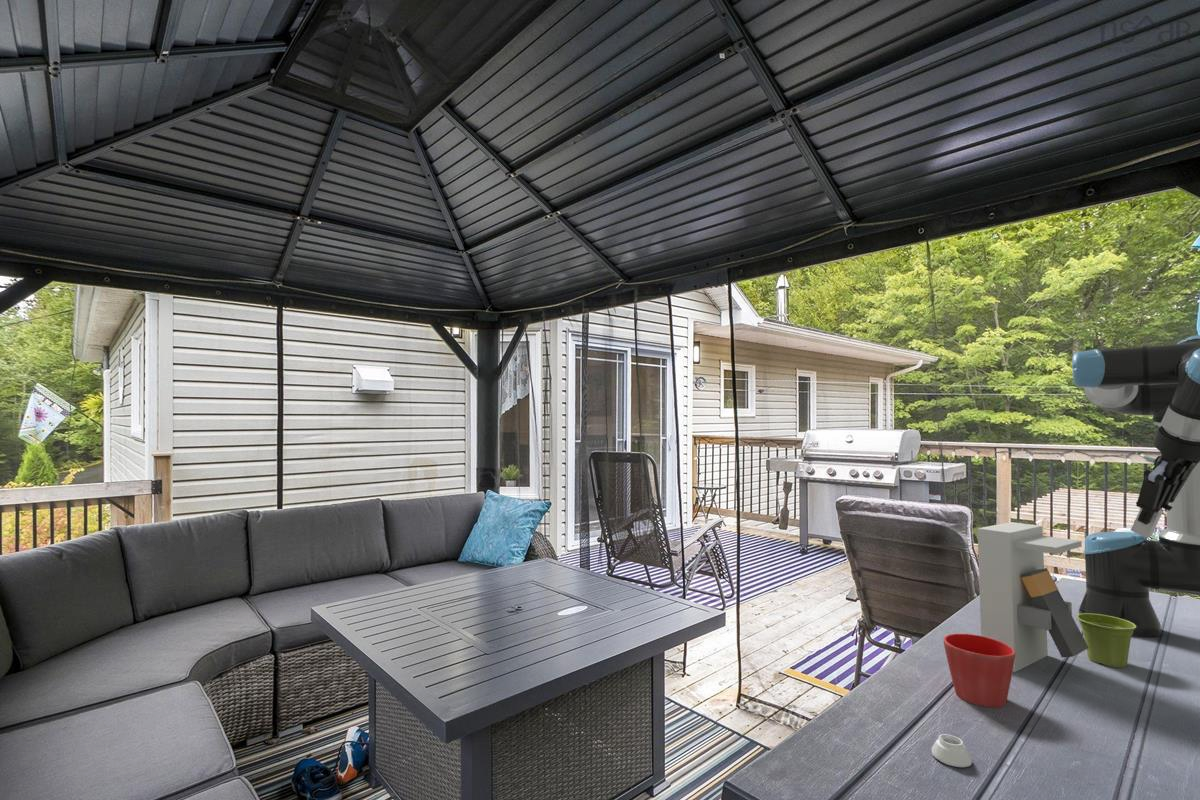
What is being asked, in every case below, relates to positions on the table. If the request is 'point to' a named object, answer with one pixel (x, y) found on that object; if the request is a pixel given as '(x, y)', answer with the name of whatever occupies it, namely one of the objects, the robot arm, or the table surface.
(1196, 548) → the robot arm
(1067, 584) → the table surface
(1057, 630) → the breaker switch
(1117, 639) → the plant pot
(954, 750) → the white jar
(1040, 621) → the box
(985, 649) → the flower pot
